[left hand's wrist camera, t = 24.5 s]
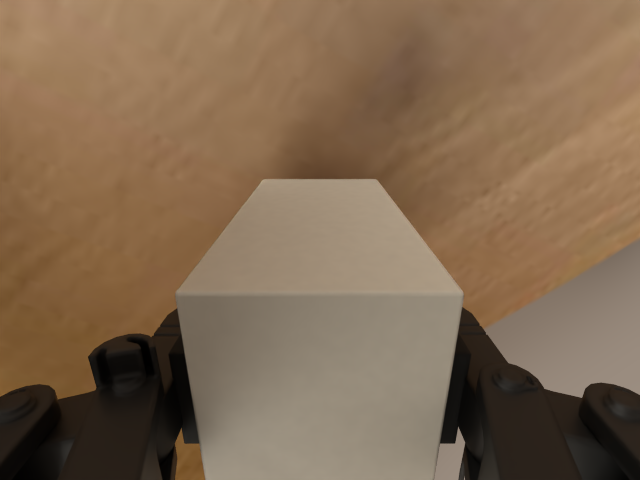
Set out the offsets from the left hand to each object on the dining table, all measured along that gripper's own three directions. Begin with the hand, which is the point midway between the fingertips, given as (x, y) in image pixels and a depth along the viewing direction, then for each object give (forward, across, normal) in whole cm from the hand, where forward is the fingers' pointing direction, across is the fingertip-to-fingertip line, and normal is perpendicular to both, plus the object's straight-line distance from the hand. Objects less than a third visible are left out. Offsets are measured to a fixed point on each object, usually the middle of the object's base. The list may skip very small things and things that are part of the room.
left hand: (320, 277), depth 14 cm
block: (+3, 0, 0) cm, 3 cm away
